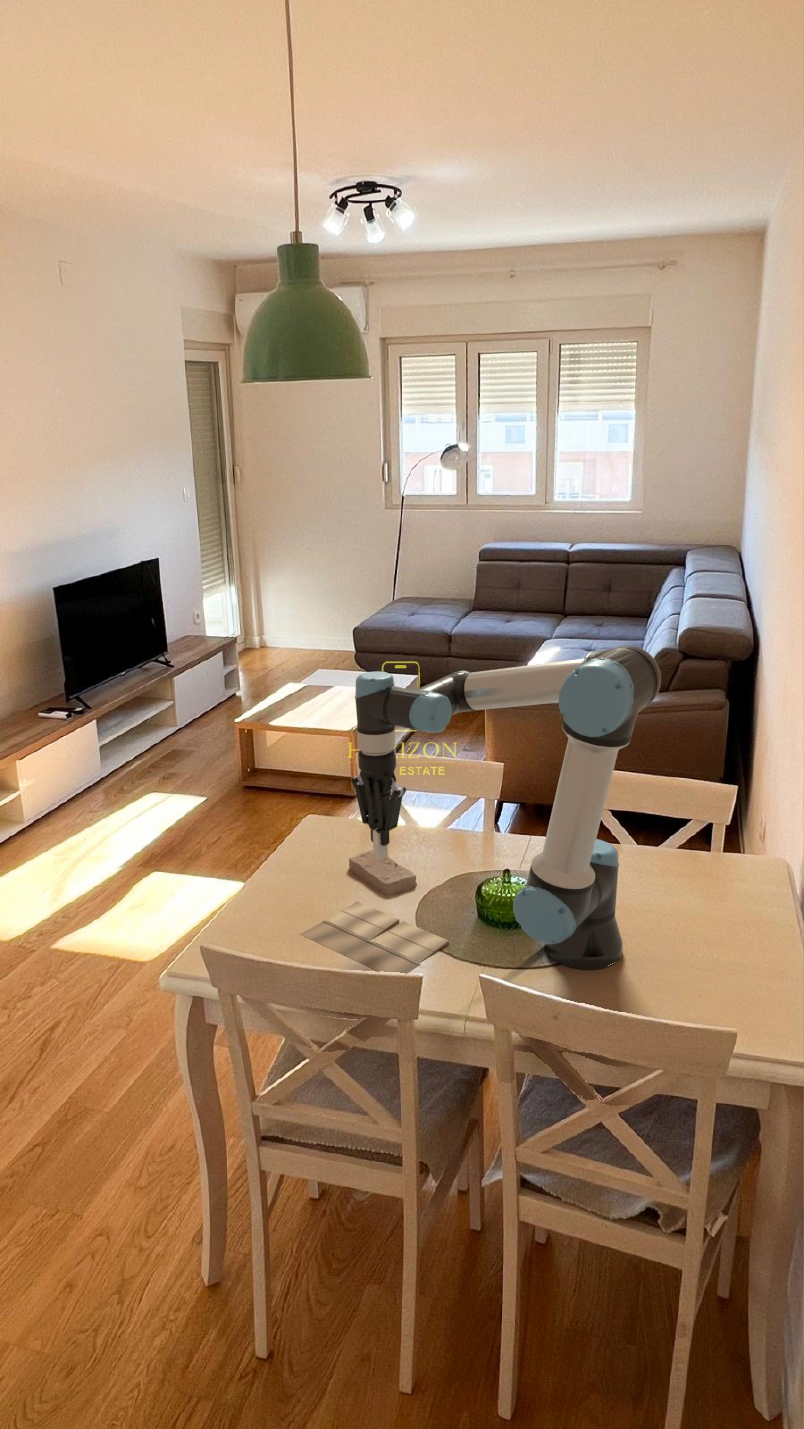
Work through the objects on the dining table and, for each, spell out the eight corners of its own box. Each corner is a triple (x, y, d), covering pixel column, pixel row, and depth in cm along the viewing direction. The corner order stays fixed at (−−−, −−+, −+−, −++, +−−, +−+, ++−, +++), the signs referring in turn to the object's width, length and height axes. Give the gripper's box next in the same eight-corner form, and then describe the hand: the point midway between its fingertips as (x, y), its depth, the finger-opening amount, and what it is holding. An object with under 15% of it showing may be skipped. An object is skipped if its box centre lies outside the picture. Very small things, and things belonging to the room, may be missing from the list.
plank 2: (448, 945, 198) (448, 940, 197) (420, 967, 192) (419, 962, 191) (403, 926, 205) (402, 920, 205) (374, 946, 199) (373, 941, 199)
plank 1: (399, 924, 206) (399, 918, 205) (370, 944, 200) (369, 939, 199) (357, 906, 213) (356, 900, 213) (328, 925, 207) (327, 920, 207)
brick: (419, 892, 222) (418, 873, 220) (388, 903, 217) (387, 883, 216) (377, 865, 235) (377, 847, 233) (347, 875, 230) (347, 856, 229)
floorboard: (420, 970, 191) (420, 963, 191) (396, 986, 186) (396, 979, 186) (324, 926, 207) (324, 920, 207) (300, 940, 202) (300, 933, 202)
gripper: (414, 750, 196) (416, 859, 203) (365, 738, 204) (369, 843, 211) (389, 761, 190) (392, 873, 197) (339, 748, 198) (345, 855, 205)
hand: (380, 857), depth 204 cm, fingers closed
